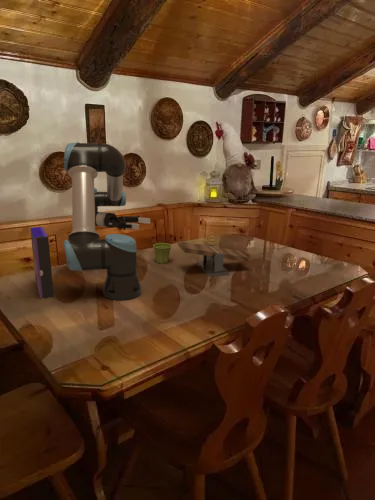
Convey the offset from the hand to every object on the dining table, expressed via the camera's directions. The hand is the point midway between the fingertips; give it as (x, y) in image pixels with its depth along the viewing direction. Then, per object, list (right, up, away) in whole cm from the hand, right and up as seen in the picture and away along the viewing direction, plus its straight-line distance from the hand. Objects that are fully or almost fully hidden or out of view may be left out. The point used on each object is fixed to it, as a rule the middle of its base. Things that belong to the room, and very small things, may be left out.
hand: (144, 223), depth 179 cm
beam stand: (+33, -22, -6) cm, 41 cm away
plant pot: (+9, -19, +2) cm, 21 cm away
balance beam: (+33, -15, -9) cm, 38 cm away
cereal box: (-36, -29, -35) cm, 58 cm away
